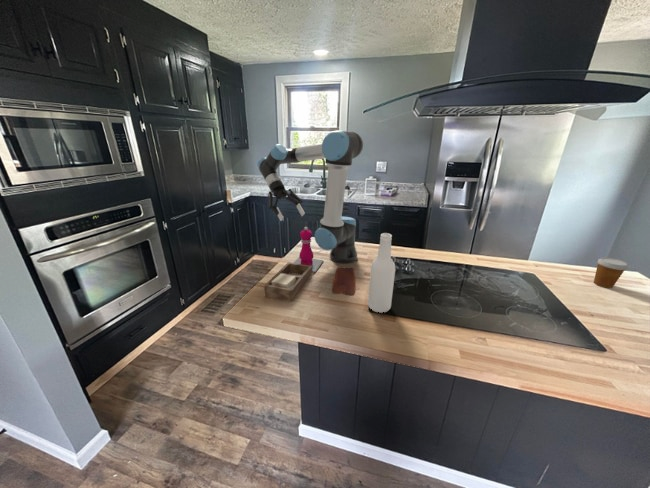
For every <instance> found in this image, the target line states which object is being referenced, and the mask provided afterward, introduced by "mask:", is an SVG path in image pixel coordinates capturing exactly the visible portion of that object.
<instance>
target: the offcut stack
mask: <svg viewBox="0 0 650 488" xmlns="http://www.w3.org/2000/svg"><path fill="white" fill-rule="evenodd" d="M291 275H292V274H291ZM291 275H286V274H280V275H279V276H277V277H276V278H275V279H274V280H273V281H272V286H278V287H284V288H290V289H291V288H292V286H293V285H294V284H295V283H296V276H291Z"/></svg>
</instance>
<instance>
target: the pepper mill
mask: <svg viewBox="0 0 650 488" xmlns="http://www.w3.org/2000/svg"><path fill="white" fill-rule="evenodd" d="M299 237H300V238H301V240H300V242H301V243H302V245H301V249H300V252H299V256H298V258H299V257H300V259H301V261H300V262H301V264H303V265H312V264H313V260H312V259H314V252H313V250H312V248H311V247H312V246H311V243H312V237H313V233H312V230H310V229H309V227H307V226H304V228H303V230H301V231H300V233H299Z"/></svg>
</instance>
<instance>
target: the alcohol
mask: <svg viewBox="0 0 650 488" xmlns="http://www.w3.org/2000/svg"><path fill="white" fill-rule="evenodd" d="M392 237H393V235H392V234H391V233H388V232H383V233H381V234H380V237H379V239H380V240H379V246H378V251H377V252H378V253H377V256H376V257H375V258H374V259H373V261H372V262H371V265H370V276H369V286H368V287H369V288H368V300H367V306H368V307H369V309H370V310H371V309H372V311H373V312H376V313H378V312H379V314H380V313H381V314H383V312H384V313H387V312H388V311H389V310H391V307H392V300H393V292H394V286H395V285H394V283H395V275H396V265H395V264H396V263H395V262H394V260H393V259H392V240H393V239H392Z"/></svg>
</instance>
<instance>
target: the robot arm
mask: <svg viewBox="0 0 650 488" xmlns="http://www.w3.org/2000/svg"><path fill="white" fill-rule="evenodd" d="M363 147H364V140H363V139H362V136H361V135H359V134H358V133H357V132H354V131H346V130H340V129H339V130H333V131H330V132H328V133H327V135H325V136H324V138H323V140H322V142H321V143H316V144H310V145H306V146H300V147H295V148H293V147H292V148H286V147H285V146H284V145H283V144H281V143H280V144H279V143H276V144H275V145H274V146H273V148H271V149H270V151H269V153H268V154H267V156H266V157H261V158H260V159H259V160H257V165H256V166H257V167H258V170H259V172H260V174H261V175H262V177H263V179H264V180H265V183H266V184H267V186H268V187H269V191H268V193H267V197H268V210H271V212H274V214H275V216H277V217H278V219H279V220H280V222H282V221H283V220H284V219H285V218H284V216H283V215H284V214H283V213H282V212H281V210H280V208H279V207H278V203H279V200H287V201H289V202H291V203H292V204H294V205H296V209H297V211H298V212H299V214H300V216H301V217H303V216H304V215H305V214H306V213H305V211H304V208H303V205H302V203H303V202H304V201H303V199H301V198H300V197H299V196H298V195H297V194H296V193H295V192H293V190H292V188H289V189H286V187H285V184H284V183H283V181H282V179H281V177H280V175H279V174H278V172H277V169H278V168H279V166H281V165H283V164H299V163H301V162H302V163H303V162H310V161H315V160H317V161H318V160H323V159H324V160H325V164H326V165H327V178H326V189H325V198H324V199H325V200H324V208H323V209H324V210H323V217H322V218H321V219H320V220H319V227H318V228H317V229H316V231H314V241H315V242H316V244H317V246H318V247H319V248H320V249H322V250H324V251H330V253H329V258H330V260H331V261H333V262H336V263H340V264H349V263H353V262H355V261H357V259H358V253H357V248H356V245H355V243H356V242H355V241H356V229H357V228H356V227H357V222H356V219H355V218H353V217H349V216H343V215H342V214H343V209H344V199H345V192H346V185H347V177H348V169H349V168H351V167H352V164H353V159H356V158H357V157H359V156H360V154H361V153H362V151H363ZM273 197H275V199H274V201H273Z"/></svg>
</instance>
